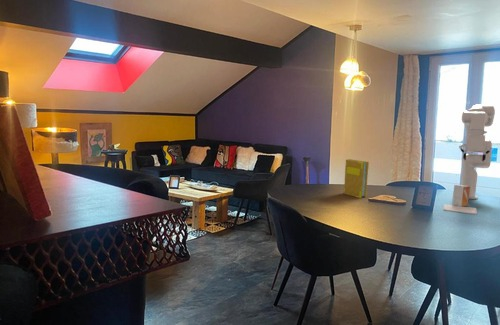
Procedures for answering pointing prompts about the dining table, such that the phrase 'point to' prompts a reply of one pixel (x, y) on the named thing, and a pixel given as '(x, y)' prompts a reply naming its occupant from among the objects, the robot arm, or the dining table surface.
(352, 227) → the dining table surface
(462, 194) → the small box
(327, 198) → the dining table surface
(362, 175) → the book
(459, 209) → the mat
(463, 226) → the dining table surface
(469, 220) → the dining table surface
